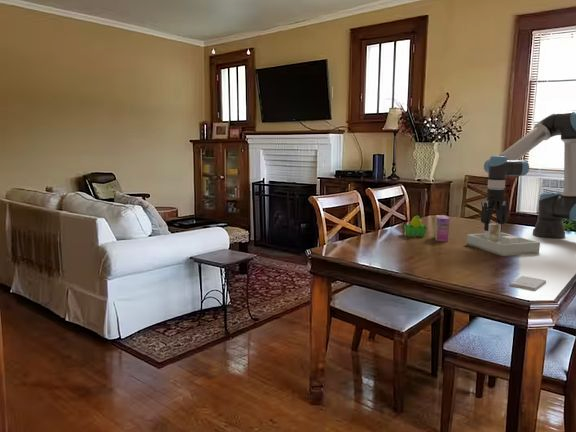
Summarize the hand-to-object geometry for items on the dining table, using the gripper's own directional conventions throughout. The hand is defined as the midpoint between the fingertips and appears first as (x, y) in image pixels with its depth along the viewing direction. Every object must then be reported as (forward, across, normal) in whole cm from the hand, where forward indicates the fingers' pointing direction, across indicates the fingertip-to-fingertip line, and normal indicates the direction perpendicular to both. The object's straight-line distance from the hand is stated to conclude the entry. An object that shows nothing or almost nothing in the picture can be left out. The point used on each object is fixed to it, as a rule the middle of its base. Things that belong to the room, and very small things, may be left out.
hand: (492, 237), depth 221 cm
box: (+5, +15, -20) cm, 25 cm away
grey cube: (+3, 0, +11) cm, 12 cm away
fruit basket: (+5, +23, -32) cm, 39 cm away
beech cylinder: (+2, 0, 0) cm, 2 cm away
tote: (+4, 0, +6) cm, 8 cm away
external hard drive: (+5, +30, +56) cm, 63 cm away
